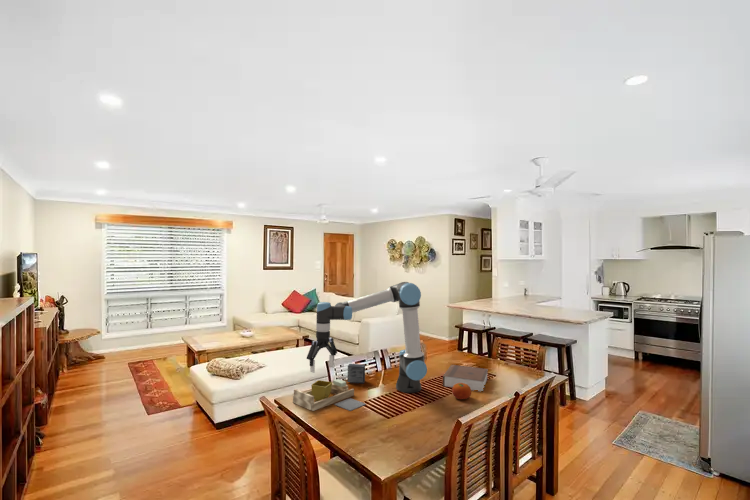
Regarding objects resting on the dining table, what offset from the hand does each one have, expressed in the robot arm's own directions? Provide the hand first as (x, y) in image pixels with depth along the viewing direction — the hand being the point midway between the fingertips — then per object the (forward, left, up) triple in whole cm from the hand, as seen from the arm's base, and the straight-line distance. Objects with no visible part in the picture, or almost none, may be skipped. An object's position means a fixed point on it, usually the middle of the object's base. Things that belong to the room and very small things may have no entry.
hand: (322, 369), depth 208 cm
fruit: (-55, -56, -17) cm, 80 cm away
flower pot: (0, 0, -17) cm, 17 cm away
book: (-44, -84, -17) cm, 96 cm away
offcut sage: (0, -13, -12) cm, 18 cm away
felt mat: (-16, -6, -17) cm, 24 cm away
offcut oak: (0, -13, -14) cm, 19 cm away
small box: (+7, -35, -17) cm, 39 cm away
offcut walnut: (0, -13, -17) cm, 21 cm away
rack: (0, -2, -17) cm, 17 cm away
